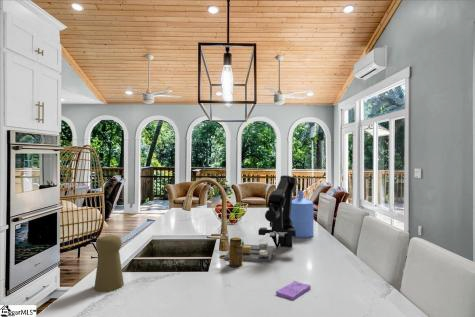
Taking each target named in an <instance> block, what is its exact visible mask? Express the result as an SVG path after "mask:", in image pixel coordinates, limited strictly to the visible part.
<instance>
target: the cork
mask: <svg viewBox="0 0 475 317" xmlns="http://www.w3.org/2000/svg"><path fill="white" fill-rule="evenodd" d="M95 247H96V248H95V249H96V251H97V252H98V255H97V256H98V257H97V264H96V272H95V278H94V288H93V290H94V291H95V292H98V293H107V292H108V293H109V292H114V290H115V291H117V289H118V290H120V289H122V288H123V287H124V283H125V282H124V276H123V275H124V274H123V269H122V262H121V256H120V250H121V248H122V239H121V237H120V236H118V235H111V234H110V235H104V236H101V237H99V238H98V239H97V240H96V244H95ZM122 286H123V287H122ZM119 288H120V289H119Z"/></svg>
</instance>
